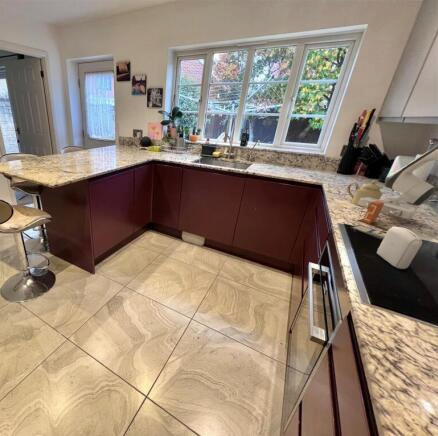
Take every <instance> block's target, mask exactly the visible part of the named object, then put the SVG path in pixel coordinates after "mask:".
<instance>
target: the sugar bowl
mask: <svg viewBox="0 0 438 436" xmlns="http://www.w3.org/2000/svg"><path fill="white" fill-rule="evenodd" d="M376 183H377V179H373V180H372V181H371V182H370V183H365V184H362V185H361V187H360V186H359V184H358V183H357V182H351V183H349V185H348V186H347V194H348V195H349V196H350V197H351V198H352V199H351V203H352V204H354V205H356V206H358V207H363V208H365V207H364V206H362V205H359V204H358V203H359V201H360V199H361V198H366V197H369V198H374V199H378V200H381V197H382V195H383V192H382V191H381V190H382V188H381V187H380V186H379V185H377V184H376ZM352 185H354V186H355V193H354V195H353V193H352V192H351V188H352V187H351V186H352Z"/></svg>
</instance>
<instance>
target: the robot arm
mask: <svg viewBox="0 0 438 436" xmlns="http://www.w3.org/2000/svg"><path fill="white" fill-rule="evenodd" d="M433 161H434V162H437V161H438V145H436V146H434V147H433V148H431V149H428V150H427V151H425V152H424V153H422V154H421V155H419V156H418V157H416V158H414V159H413V160H411V161H409V163H406V164H405V165H404V166H402V167H401V168H399V169H397V170H395V171H393V172H392V173H390V174H388V175H387V176H386V178H385V179H384V184H385V187H387V188H388V189H391V190H393V191H394V192H396V193H397V194H398V195H393V196H388V197H385V198H383V199H379V200H378V199H374V198H369V197H366V198H361V199H360V201H359V203H358V204H359V205H362V206H361V207H363V206H364V207H363V208H366V209H368V208H369V206H370V204H371V202H373V201H380V202H384V205H383V207H382V209H381V211H380V213H382V214H384V215H386V216H387V215H388V216H396V217H399V218H402V219H406V220H411V219H413V218H414V216H415V215H416V213H417V211H418V208H419V206H421V205H423V204H425V203H427V202H428V201H430V200H431V199H432V198H433V197H434V196H435V195H436V187H435V186H434V185H432V184H431V183H429V182H427V181H426V180H424V179H421V178H420V177H418V176H417V175H415V174H414V172H415V171H416V170H418V169H420V168H421V167H423V166H425V165H426V164H428V163H429V162H433ZM359 205H358V206H359Z"/></svg>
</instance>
